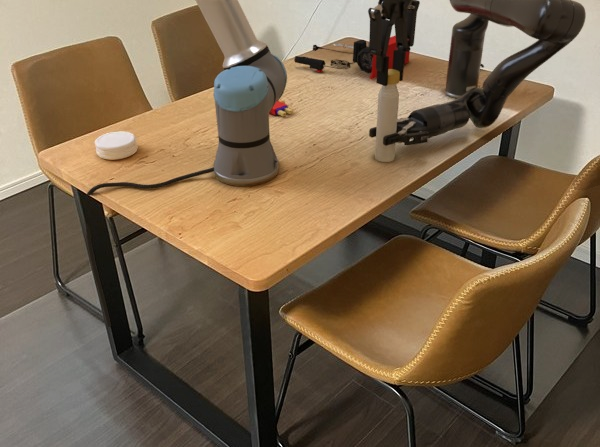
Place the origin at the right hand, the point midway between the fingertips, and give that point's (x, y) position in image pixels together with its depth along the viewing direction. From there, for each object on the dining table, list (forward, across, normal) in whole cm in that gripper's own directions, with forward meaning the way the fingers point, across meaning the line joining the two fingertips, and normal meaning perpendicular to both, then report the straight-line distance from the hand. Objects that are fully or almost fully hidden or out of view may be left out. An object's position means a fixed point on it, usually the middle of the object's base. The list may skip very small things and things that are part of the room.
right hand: (377, 137), depth 146 cm
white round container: (+51, -39, +6) cm, 65 cm away
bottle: (-3, 0, +6) cm, 7 cm away
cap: (-3, 0, -15) cm, 15 cm away
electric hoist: (-37, -62, +6) cm, 73 cm away
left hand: (-3, 0, -13) cm, 13 cm away
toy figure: (+5, -41, +6) cm, 42 cm away
